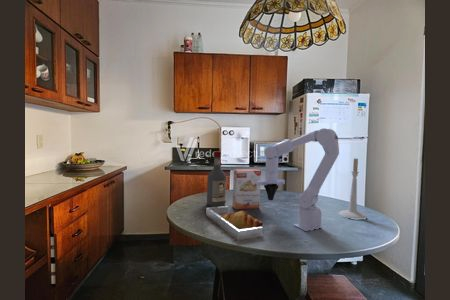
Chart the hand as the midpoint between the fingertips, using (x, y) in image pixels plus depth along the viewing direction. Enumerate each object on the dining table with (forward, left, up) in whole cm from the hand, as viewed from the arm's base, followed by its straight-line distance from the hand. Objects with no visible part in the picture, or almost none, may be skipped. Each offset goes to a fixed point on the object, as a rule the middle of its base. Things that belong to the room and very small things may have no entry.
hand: (270, 199), depth 125 cm
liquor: (+14, -32, -10) cm, 36 cm away
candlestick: (-43, +11, -10) cm, 45 cm away
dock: (+21, 0, -9) cm, 23 cm away
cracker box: (+1, -21, -10) cm, 23 cm away
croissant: (+18, +2, -10) cm, 20 cm away
